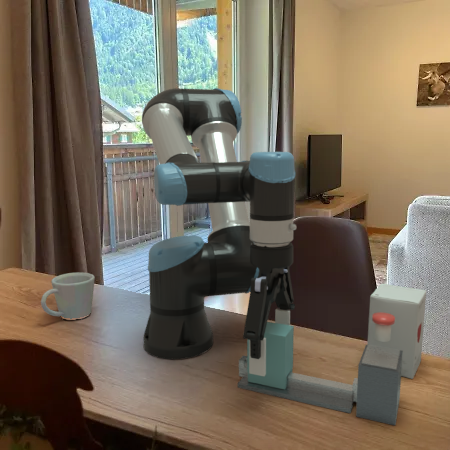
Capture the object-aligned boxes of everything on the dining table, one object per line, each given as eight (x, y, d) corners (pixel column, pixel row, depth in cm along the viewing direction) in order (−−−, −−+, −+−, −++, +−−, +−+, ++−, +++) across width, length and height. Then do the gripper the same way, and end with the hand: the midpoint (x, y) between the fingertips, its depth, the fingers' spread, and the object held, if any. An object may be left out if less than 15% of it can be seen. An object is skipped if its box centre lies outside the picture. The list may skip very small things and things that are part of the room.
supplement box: (413, 380, 86) (419, 303, 84) (365, 368, 91) (368, 295, 88) (422, 360, 94) (427, 289, 91) (377, 350, 99) (380, 282, 96)
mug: (105, 312, 121) (103, 275, 119) (57, 333, 109) (54, 292, 107) (78, 305, 127) (75, 270, 125) (29, 324, 114) (26, 285, 112)
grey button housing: (356, 416, 75) (358, 363, 74) (363, 392, 82) (365, 342, 81) (395, 425, 73) (398, 370, 71) (399, 399, 80) (402, 349, 78)
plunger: (370, 340, 75) (371, 318, 74) (372, 332, 78) (374, 311, 77) (392, 344, 73) (393, 321, 72) (394, 336, 76) (395, 314, 76)
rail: (233, 386, 85) (233, 366, 84) (247, 369, 91) (247, 350, 90) (355, 414, 76) (356, 392, 75) (361, 393, 82) (362, 372, 81)
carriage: (247, 381, 85) (247, 330, 83) (257, 369, 89) (257, 320, 87) (284, 390, 82) (285, 336, 80) (292, 377, 86) (293, 326, 84)
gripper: (268, 261, 68) (267, 395, 72) (311, 230, 90) (308, 334, 94) (221, 256, 71) (223, 385, 75) (274, 228, 93) (273, 328, 97)
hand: (270, 357), depth 84 cm, fingers open, 13 cm apart
